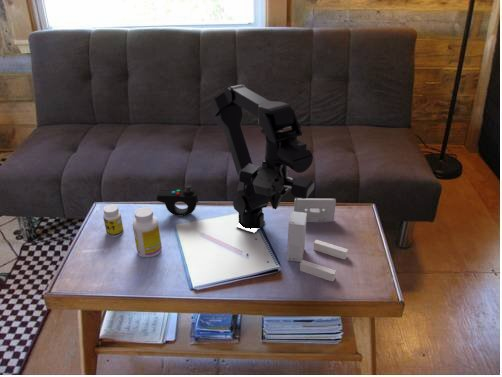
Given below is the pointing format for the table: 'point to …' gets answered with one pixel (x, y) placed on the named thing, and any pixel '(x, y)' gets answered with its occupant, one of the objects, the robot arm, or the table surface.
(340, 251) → the u rest
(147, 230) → the supplement bottle
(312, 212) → the cassette
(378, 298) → the table surface
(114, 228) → the supplement bottle
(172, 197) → the controller
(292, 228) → the skincare box
